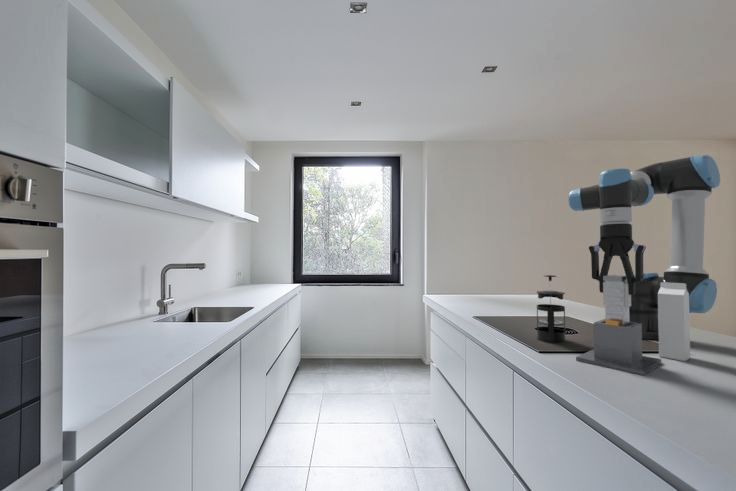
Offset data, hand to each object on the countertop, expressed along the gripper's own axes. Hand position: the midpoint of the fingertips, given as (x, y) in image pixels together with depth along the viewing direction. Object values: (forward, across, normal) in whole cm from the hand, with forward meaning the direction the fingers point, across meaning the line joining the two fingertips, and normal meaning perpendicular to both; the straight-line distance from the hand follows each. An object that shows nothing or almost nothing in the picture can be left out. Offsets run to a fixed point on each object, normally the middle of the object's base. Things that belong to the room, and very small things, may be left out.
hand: (617, 305), depth 101 cm
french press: (+16, -24, +12) cm, 31 cm away
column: (+12, 0, 0) cm, 12 cm away
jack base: (+16, 0, 0) cm, 16 cm away
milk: (+16, +9, +18) cm, 26 cm away
